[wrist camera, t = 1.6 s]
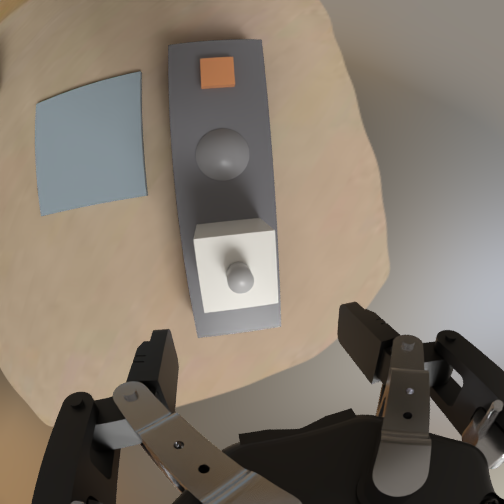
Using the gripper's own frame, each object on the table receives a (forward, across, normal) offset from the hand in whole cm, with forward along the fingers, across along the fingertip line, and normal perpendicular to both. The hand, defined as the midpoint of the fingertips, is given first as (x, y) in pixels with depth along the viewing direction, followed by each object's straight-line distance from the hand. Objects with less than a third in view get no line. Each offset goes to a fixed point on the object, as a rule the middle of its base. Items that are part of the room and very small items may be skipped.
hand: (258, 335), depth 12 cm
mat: (+18, +15, -13) cm, 27 cm away
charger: (+16, 0, 0) cm, 16 cm away
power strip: (+18, 0, -6) cm, 19 cm away
